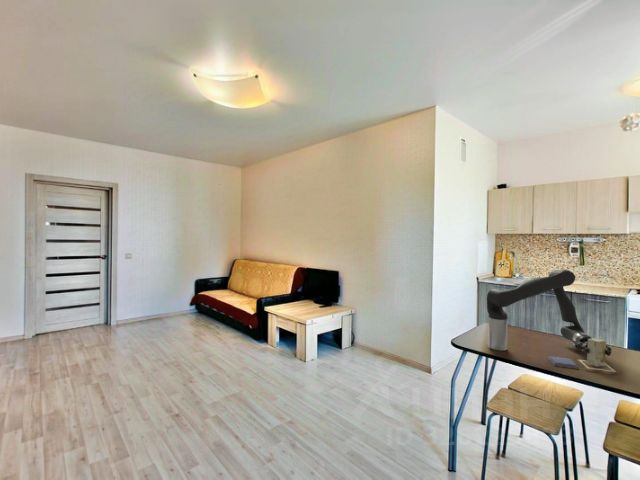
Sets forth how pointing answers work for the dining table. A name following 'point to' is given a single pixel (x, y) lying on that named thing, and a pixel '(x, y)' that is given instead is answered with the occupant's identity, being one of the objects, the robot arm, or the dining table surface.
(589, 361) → the skincare box
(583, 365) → the marked board
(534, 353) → the dining table surface
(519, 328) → the dining table surface
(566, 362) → the ink pad
